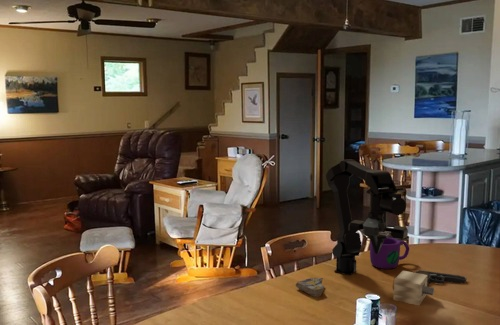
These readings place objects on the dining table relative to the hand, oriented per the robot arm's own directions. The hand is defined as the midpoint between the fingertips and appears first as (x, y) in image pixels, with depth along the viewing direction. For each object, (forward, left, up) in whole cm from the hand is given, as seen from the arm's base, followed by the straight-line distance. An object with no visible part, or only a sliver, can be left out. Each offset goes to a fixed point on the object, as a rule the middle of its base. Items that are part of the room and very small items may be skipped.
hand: (376, 253), depth 163 cm
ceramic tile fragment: (-18, -14, -13) cm, 26 cm away
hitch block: (+12, -2, -12) cm, 17 cm away
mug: (-3, +27, -13) cm, 30 cm away
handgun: (+18, +16, -13) cm, 27 cm away
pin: (+13, -2, -11) cm, 17 cm away
